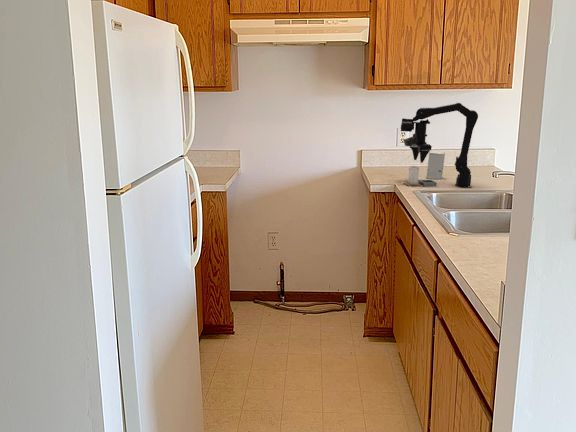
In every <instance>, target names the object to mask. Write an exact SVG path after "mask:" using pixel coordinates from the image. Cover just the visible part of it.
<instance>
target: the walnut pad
mask: <svg viewBox="0 0 576 432" xmlns="http://www.w3.org/2000/svg"><path fill="white" fill-rule="evenodd" d="M403 184H404V185H405V186H407V187H409V186H412V187H423V186H422V185H421V184H419V183H418V184H409V183H408V181H407V182H404V183H403Z"/></svg>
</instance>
